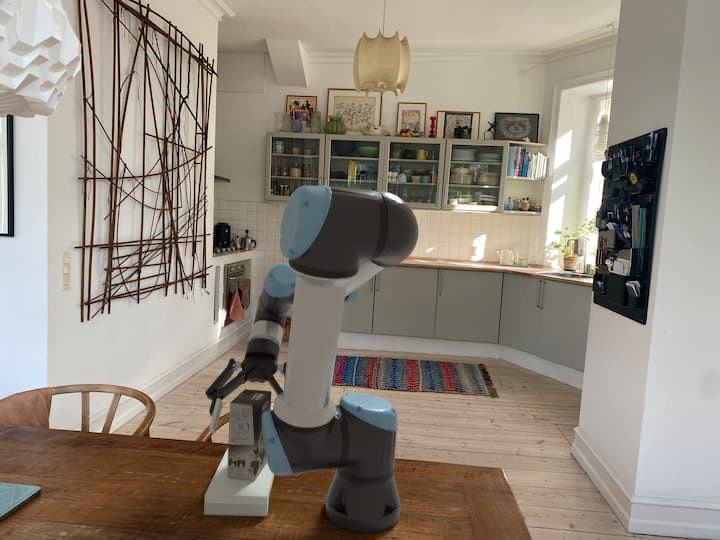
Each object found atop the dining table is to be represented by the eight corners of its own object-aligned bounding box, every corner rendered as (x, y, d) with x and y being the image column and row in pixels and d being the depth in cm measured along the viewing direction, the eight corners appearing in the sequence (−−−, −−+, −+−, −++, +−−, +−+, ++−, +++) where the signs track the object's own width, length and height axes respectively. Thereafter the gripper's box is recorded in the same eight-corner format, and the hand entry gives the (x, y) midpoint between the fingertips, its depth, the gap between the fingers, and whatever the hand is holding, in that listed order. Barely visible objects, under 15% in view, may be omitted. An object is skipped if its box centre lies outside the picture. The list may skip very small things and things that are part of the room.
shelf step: (278, 465, 114) (279, 448, 114) (266, 516, 94) (267, 496, 94) (227, 463, 113) (228, 447, 113) (204, 514, 93) (204, 494, 93)
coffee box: (255, 481, 99) (259, 405, 97) (225, 477, 100) (228, 402, 98) (269, 460, 108) (272, 390, 106) (242, 457, 109) (244, 387, 107)
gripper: (317, 356, 116) (305, 443, 103) (215, 349, 117) (190, 435, 103) (316, 339, 110) (302, 430, 97) (208, 332, 111) (180, 421, 98)
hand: (244, 433), depth 100 cm, fingers open, 13 cm apart
